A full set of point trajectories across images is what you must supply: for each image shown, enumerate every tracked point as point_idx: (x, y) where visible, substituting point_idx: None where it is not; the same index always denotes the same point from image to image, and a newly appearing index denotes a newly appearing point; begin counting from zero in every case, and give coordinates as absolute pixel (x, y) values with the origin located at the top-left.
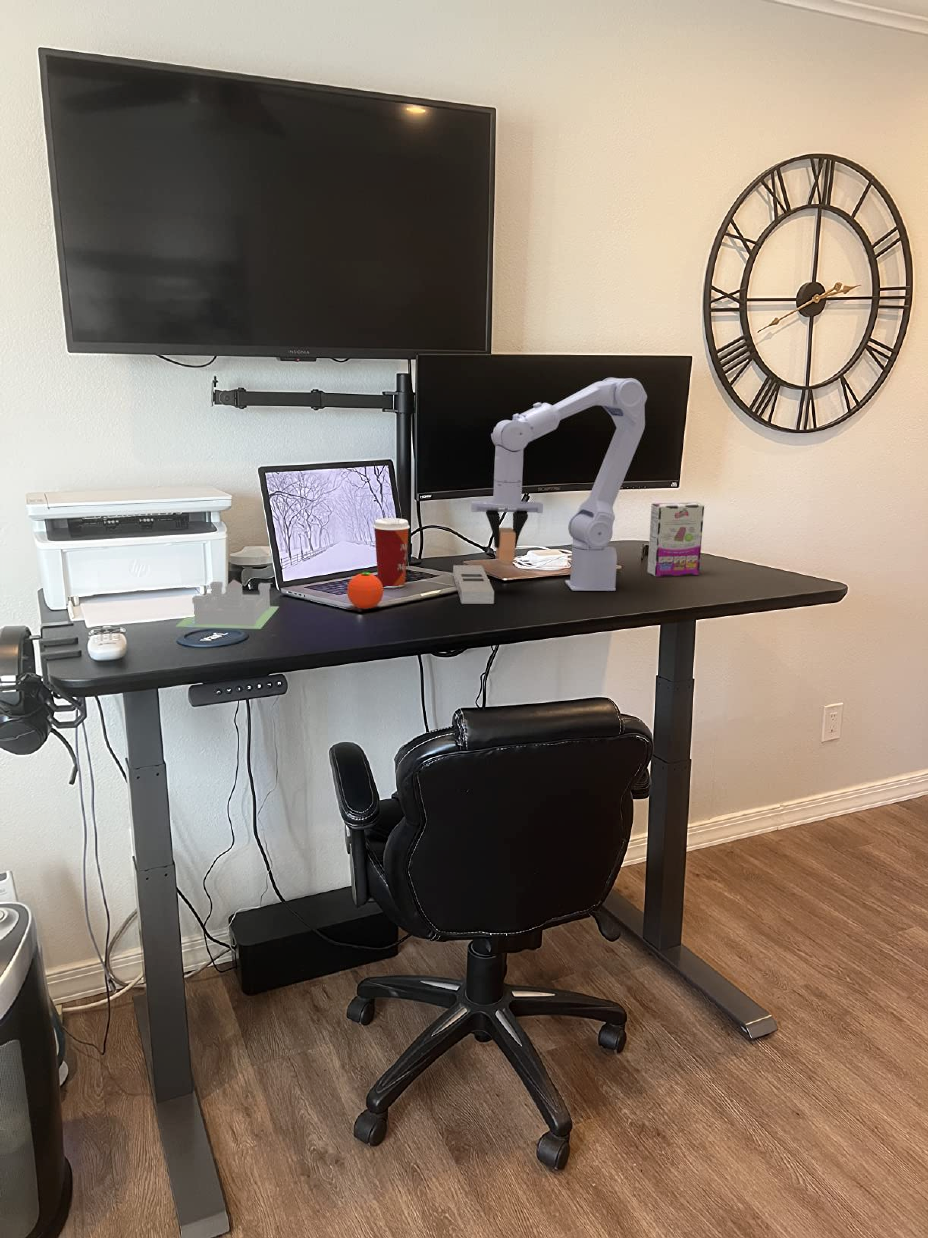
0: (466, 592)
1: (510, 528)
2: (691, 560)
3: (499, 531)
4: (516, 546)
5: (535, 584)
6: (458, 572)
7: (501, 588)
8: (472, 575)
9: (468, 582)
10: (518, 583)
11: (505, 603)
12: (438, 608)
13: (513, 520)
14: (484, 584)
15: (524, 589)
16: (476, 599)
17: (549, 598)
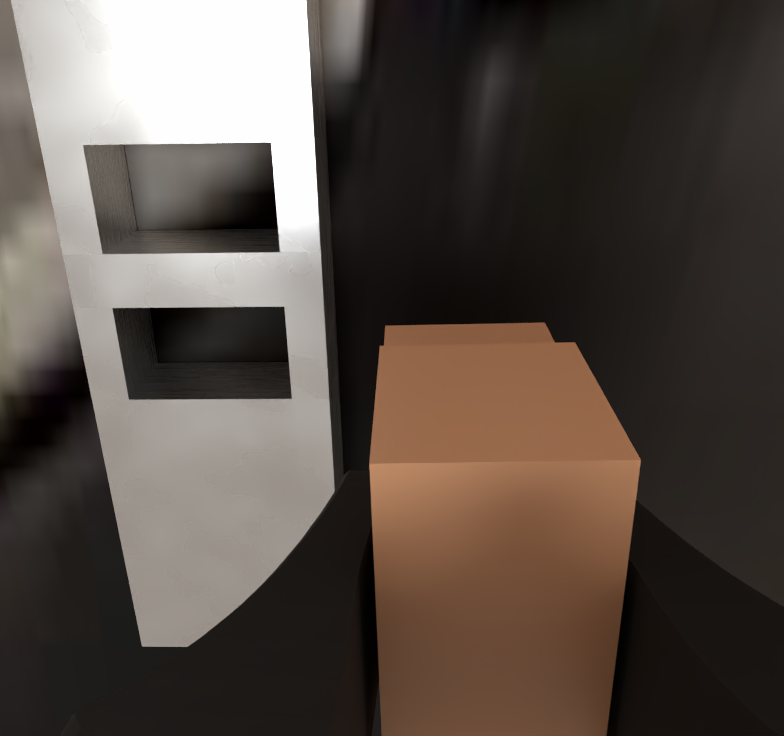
0: (172, 642)
1: (607, 532)
2: None
3: (382, 725)
4: None
5: (763, 71)
6: (53, 74)
7: (445, 222)
8: (193, 139)
9: (170, 434)
10: (621, 35)
11: None
12: (51, 665)
13: (689, 719)
14: (288, 487)
15: (619, 250)
16: None
17: (722, 484)
